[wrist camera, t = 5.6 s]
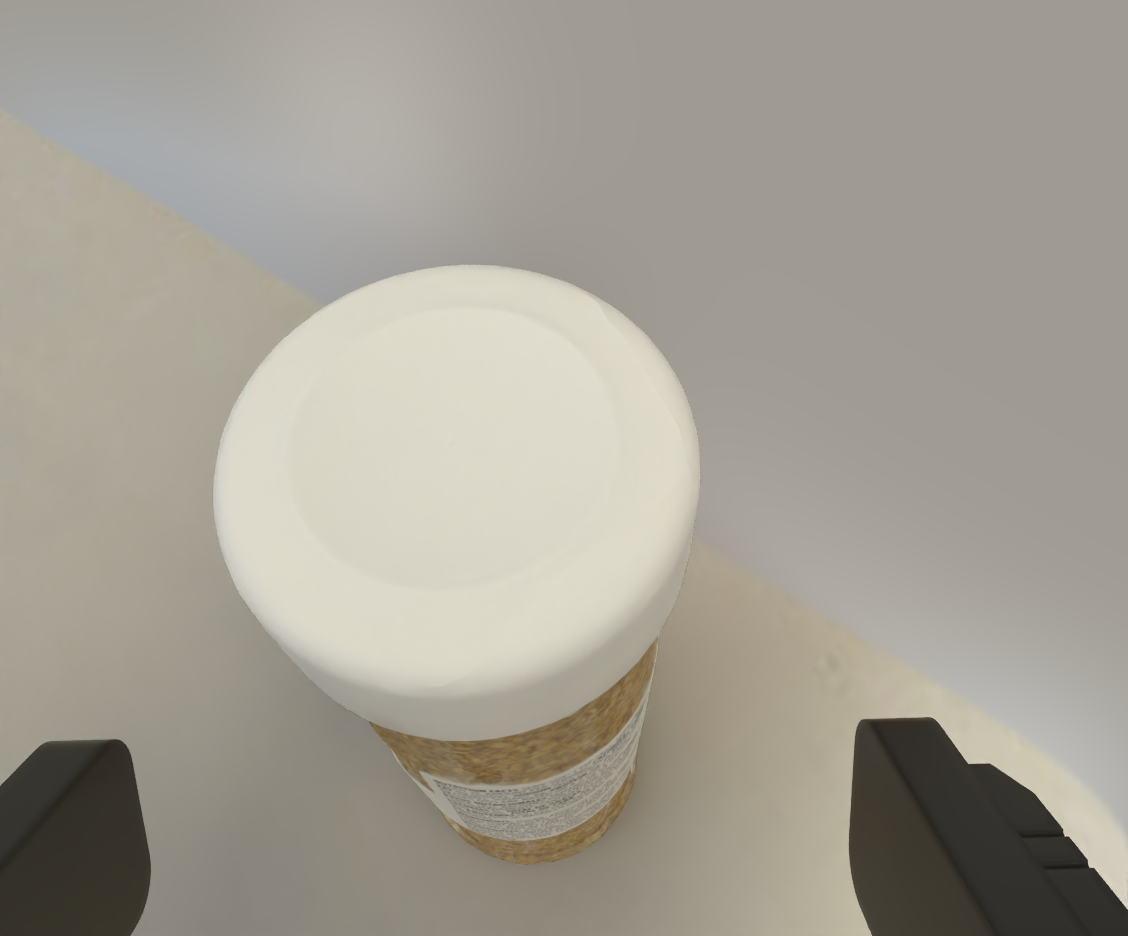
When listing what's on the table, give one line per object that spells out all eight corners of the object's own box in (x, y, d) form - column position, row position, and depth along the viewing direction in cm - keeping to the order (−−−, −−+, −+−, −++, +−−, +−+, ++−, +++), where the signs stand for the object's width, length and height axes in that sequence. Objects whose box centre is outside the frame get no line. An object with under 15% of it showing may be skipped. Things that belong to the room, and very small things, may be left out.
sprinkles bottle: (429, 662, 21) (225, 261, 9) (628, 647, 21) (672, 228, 9) (430, 880, 19) (160, 710, 7) (651, 861, 19) (750, 664, 7)
